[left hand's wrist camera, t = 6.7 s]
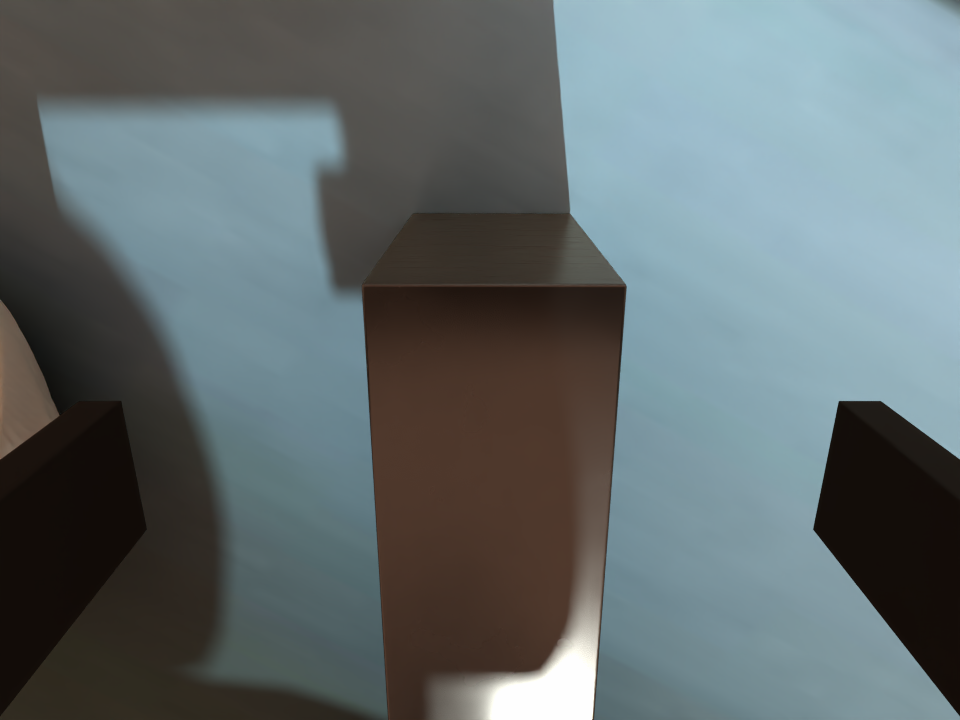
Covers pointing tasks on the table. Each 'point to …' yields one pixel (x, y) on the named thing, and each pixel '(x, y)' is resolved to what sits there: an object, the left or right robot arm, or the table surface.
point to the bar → (492, 462)
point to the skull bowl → (20, 388)
